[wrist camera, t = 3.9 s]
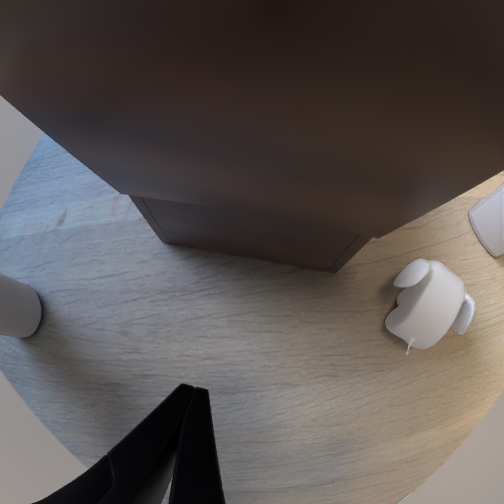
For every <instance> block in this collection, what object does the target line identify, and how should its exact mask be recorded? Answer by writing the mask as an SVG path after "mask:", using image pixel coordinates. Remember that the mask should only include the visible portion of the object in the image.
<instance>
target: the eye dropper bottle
mask: <svg viewBox="0 0 504 504" xmlns="http://www.w3.org/2000/svg"><path fill="white" fill-rule="evenodd" d="M469 218H470V221H471V224H472V226H473V229H474V231H475V233H476V235H477V237H478V239H479V240H480V242H481V243H482V245H483V246H484V247H485V249H486V250H487V251H488V252H489V253H490V254H491V255H492V256H494V257H499V256H501V255H503V254H504V183H503V184H501V185H500V186H499V187H498V188H496V189H495V190H494V191H493V192H491V193H490V194H489V195H488V196H486V197H485V198H484V199H483V200H481V201H480V202H479V203H478V204H476V205H475V206H474V207H473V208H472V209H471V210H470V212H469Z"/></svg>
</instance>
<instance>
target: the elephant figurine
mask: <svg viewBox="0 0 504 504" xmlns="http://www.w3.org/2000/svg"><path fill="white" fill-rule="evenodd" d="M393 285H394V286H398V287H407V288H406V289H404V290H403V291H402V292H400V293H399V295H398V296H397V304H398V307H397V308H396V309H394V310H393V311H391V312H390V313H389V315H388V316H387V318H386V320H385V324H386V327H387V329H388V330H389V331H390V332H391V333H393V334H394V335H396V336H398V337H400V338H402V339H403V340H405V341H406V342H407V344H408V350H407V352H406V355H408V354H409V352H408V351H409V349H410V346H411V347H414V348H417V349H427V348H430V347H432V346H433V345H435V344H436V343H437V342H438V341H439V340H440V339H441V338H442V337H443V336H444V335H445V334H446V332H447V331H448V330H449V328H450V327H451V326H452V327H453V329H454V330H455V332H456V333H457V334H459V335H463V334H464V333H465V332H466V331H467V330H468V329H469V327H470V325H471V323H472V321H473V318H474V315H475V302H474V300H473V299H472V297H471V296H470V295H469V294H468V293H467V291H466V289H465V285H464V283H463V281H462V280H461V279H460V278H459V277H458V276H457V275H456V274H454V273H453V272H451V271H450V270H449V269H448V268H447V267H446V266H445V265H443V264H442V263H440V262H438V261H435V260H432V261H430V260H429V261H427V260H425V259H421V258H420V259H416V260H414V261H412V262H411V263H409V264H408V265H407V266H406V267H405V268H404V269H403V270H402V271H401V272H400V273H399V274H398V275H397V277H396V278H395V280H394V283H393Z"/></svg>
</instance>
